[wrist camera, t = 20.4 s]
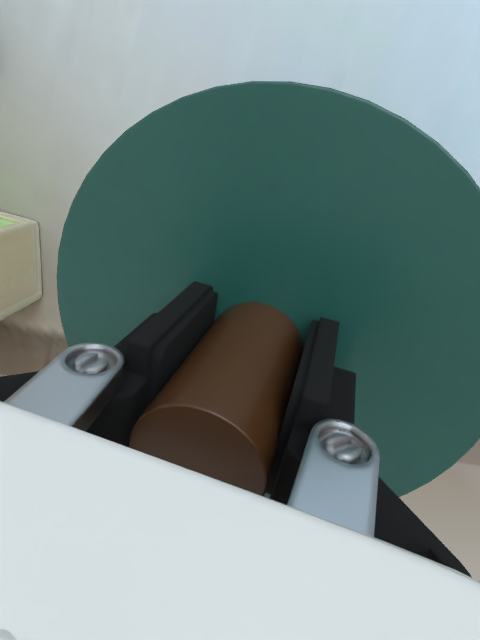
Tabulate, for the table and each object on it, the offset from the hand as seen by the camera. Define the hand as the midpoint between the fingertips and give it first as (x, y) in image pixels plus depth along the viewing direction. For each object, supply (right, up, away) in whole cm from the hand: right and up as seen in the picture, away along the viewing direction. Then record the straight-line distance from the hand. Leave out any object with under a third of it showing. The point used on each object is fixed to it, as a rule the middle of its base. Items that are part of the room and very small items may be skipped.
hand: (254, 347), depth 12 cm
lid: (0, 0, +1) cm, 1 cm away
